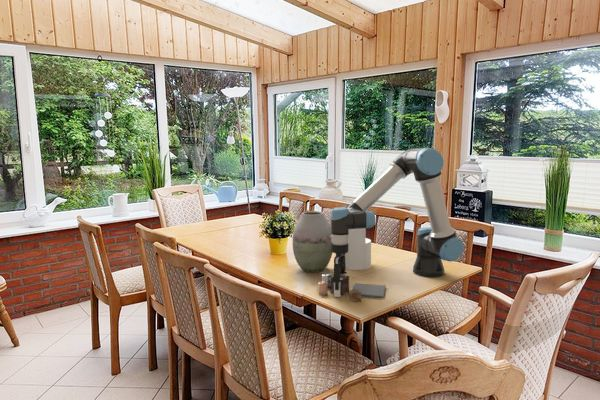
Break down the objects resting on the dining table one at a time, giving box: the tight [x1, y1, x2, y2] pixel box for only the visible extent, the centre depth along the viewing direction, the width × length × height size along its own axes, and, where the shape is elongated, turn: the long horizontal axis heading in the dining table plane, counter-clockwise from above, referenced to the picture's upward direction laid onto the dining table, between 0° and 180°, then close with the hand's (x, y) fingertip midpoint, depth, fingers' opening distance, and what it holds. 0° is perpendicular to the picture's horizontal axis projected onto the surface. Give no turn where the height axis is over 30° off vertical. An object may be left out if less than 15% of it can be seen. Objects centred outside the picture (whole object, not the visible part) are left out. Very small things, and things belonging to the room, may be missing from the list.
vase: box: [292, 210, 334, 274], centre depth 219 cm, size 21×21×30 cm
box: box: [330, 275, 350, 297], centre depth 186 cm, size 6×6×7 cm
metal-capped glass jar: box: [321, 272, 333, 290], centre depth 194 cm, size 5×5×6 cm
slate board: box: [351, 282, 387, 300], centre depth 187 cm, size 14×14×1 cm
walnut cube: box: [349, 289, 362, 303], centre depth 177 cm, size 4×4×4 cm
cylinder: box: [345, 228, 372, 271], centre depth 225 cm, size 17×17×28 cm
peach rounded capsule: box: [317, 280, 328, 296], centre depth 185 cm, size 4×4×5 cm
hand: (339, 292), depth 186 cm, fingers open, 10 cm apart
